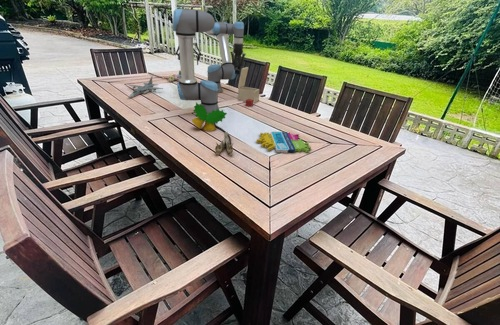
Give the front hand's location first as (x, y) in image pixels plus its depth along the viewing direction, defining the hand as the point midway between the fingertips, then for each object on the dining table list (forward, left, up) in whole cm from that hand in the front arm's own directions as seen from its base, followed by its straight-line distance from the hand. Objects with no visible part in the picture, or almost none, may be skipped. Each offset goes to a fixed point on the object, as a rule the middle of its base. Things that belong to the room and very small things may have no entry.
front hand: (189, 64), depth 211 cm
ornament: (-73, -6, -26) cm, 78 cm away
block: (-28, -45, -26) cm, 59 cm away
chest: (-13, -48, -26) cm, 56 cm away
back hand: (-5, -39, -6) cm, 40 cm away
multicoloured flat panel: (-100, -45, -26) cm, 112 cm away
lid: (-9, -44, -8) cm, 46 cm away
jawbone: (-106, -10, -26) cm, 109 cm away
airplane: (+15, +38, -26) cm, 49 cm away
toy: (+67, +9, -26) cm, 73 cm away
